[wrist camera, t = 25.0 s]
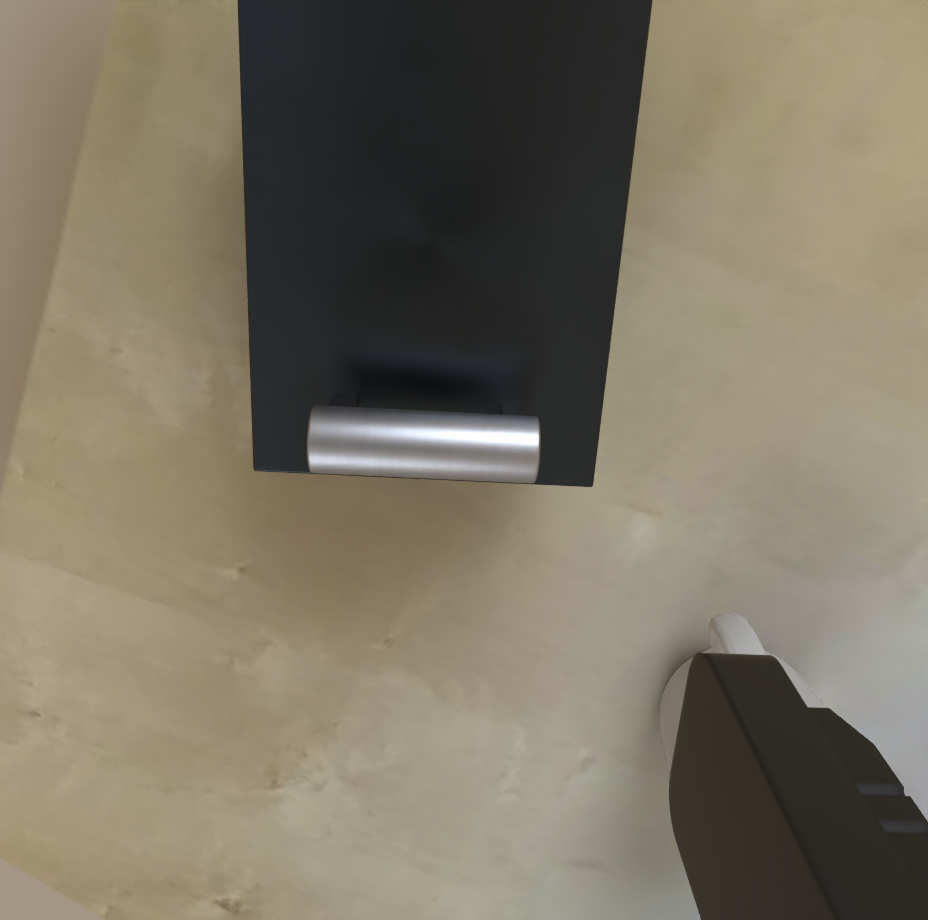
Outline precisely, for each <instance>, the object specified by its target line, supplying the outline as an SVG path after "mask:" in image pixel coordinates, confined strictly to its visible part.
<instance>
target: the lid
mask: <svg viewBox="0 0 928 920" xmlns="http://www.w3.org/2000/svg"><path fill="white" fill-rule="evenodd" d="M651 8H652V0H238V26H239V55H240V85H241V114H242V144H243V174H244V203H245V233H246V263H247V292H248V322H249V351H250V381H251V411H252V440H253V469H254V471H266V472H287V473H308V474H329V475H350V476H371V477H392V478H413V479H434V480H455V481H476V482H497V483H519V484H540V485H561V486H582V487H592V486H593V481H594V473H595V465H596V457H597V449H598V440H599V432H600V424H601V416H602V408H603V400H604V391H605V383H606V375H607V367H608V359H609V351H610V342H611V334H612V326H613V318H614V310H615V302H616V294H617V285H618V277H619V269H620V261H621V253H622V245H623V236H624V228H625V220H626V212H627V204H628V196H629V187H630V179H631V171H632V163H633V155H634V147H635V138H636V130H637V122H638V114H639V106H640V98H641V89H642V81H643V73H644V65H645V57H646V49H647V41H648V32H649V24H650V16H651Z"/></svg>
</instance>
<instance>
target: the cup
mask: <svg viewBox="0 0 928 920" xmlns="http://www.w3.org/2000/svg"><path fill="white" fill-rule="evenodd" d="M709 637H710V643H711V649H708V650H705V651H703V652H701V653H724V654H752V655H771V656H774V657H775V658H776V659H777V660H778V661H779V662H780V664H781V665H782V667H783V668H784V670H785V672H786V673H787V675H788V676H789V678H790V680H791V681H792V683H793V684H794V686H795V688H796V689H797V691H798V692H799V694H800V696H801V697H802V699H803V700H804V702H805V704H806V705H807V707H816V708H828V707H827V706H826V705H825V704H824V703H823V701H822V700H821V699H820V698H819V697H818V696H817V695H816V694H815V692H814V691H813V690H812V689H811V688H810V687H809V686H808V685H807V683H806V682H805V681H804V680H803V679H802V678H801V677H800V676H799V675H798V673H797V672H796V671H794V670H793V669H792V668H791V667H790V666H789V665H788V664H787V663H785V662H784V661H783V660H782V659H780V658H779V657H777V656H775V655H773V654H772V653H770V652H767V651H765V650H764V649H763V646H762V644H761V642H760V640H759V639H758V637H757V635H756V633H755V632H754V630H753V629H752V627H751V626H750V625H749V623H748V622H747V621H746V620H745V619H744V618H743V617H742V616H741V615H739V614H736V613H727V614H722V615H718V616H715V617H714V618H712V619H711V620H710V622H709ZM693 658H694V656H693V657H692V658H690V659H689V660H687V661H686V662H685V663H684V664H683V665H681V666H680V667H679V668H678V669H677V670H676V672H675V673H674V674H673V675H672V677H671V678H670V680H669V681H668V683H667V685H666V687H665V689H664V692H663V695H662V698H661V703H660V729H661V735H662V740H663V745H664V750H665V755H666V760H667V765H668V770H669V774H670V771H671V765H672V760H673V754H674V748H675V743H676V737H677V732H678V726H679V721H680V715H681V710H682V704H683V699H684V693H685V688H686V682H687V677H688V672H689V667H690V664H691V662H692V660H693Z"/></svg>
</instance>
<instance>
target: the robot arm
mask: <svg viewBox="0 0 928 920" xmlns="http://www.w3.org/2000/svg"><path fill="white" fill-rule="evenodd" d="M669 802H670V813H671V821H672V827H673V831H674V835H675V839H676V842H677V845H678V849H679V852H680V855H681V858H682V861H683V864H684V867H685V870H686V873H687V877H688V880H689V883H690V886H691V889H692V892H693V895H694V898H695V902H696V905H697V908H698V911H699V914H700V917H701V920H928V821H927V820H926V819H925V817H924V816H923V814H922V813H921V811H920V810H919V808H918V807H917V806H916V804H915V803H914V801H913V800H912V798H911V797H910V796H905V794H904V787H903V785H902V784H901V783H900V781H899V780H898V778H897V777H896V775H895V774H894V772H893V771H892V770H891V768H890V767H889V765H888V764H887V762H886V761H885V759H884V758H883V757H882V755H881V754H880V752H879V751H878V749H877V748H876V746H875V745H874V744H873V743H872V742H870V741H869V740H868V739H867V738H865V737H864V736H863V735H862V734H860V733H859V732H858V731H857V730H856V729H854V728H853V727H852V726H851V725H849V724H848V723H847V722H846V721H844V720H843V719H842V718H841V717H839V716H838V715H837V714H836V713H834V712H833V711H832V710H831V709H829V708H816V707H807V705H806V704H805V702H804V700H803V699H802V697H801V696H800V694H799V692H798V691H797V689H796V688H795V686H794V684H793V683H792V681H791V680H790V678H789V676H788V675H787V673H786V672H785V670H784V668H783V667H782V665H781V664H780V662H779V661H778V660H777V659H776V658H775V657H774V656H771V655H752V654H724V653H697V654H696V655H695V656H694V658H693V660H692V662H691V664H690V667H689V672H688V677H687V682H686V688H685V693H684V699H683V704H682V710H681V715H680V721H679V726H678V732H677V737H676V743H675V748H674V754H673V760H672V765H671V771H670V781H669Z"/></svg>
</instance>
